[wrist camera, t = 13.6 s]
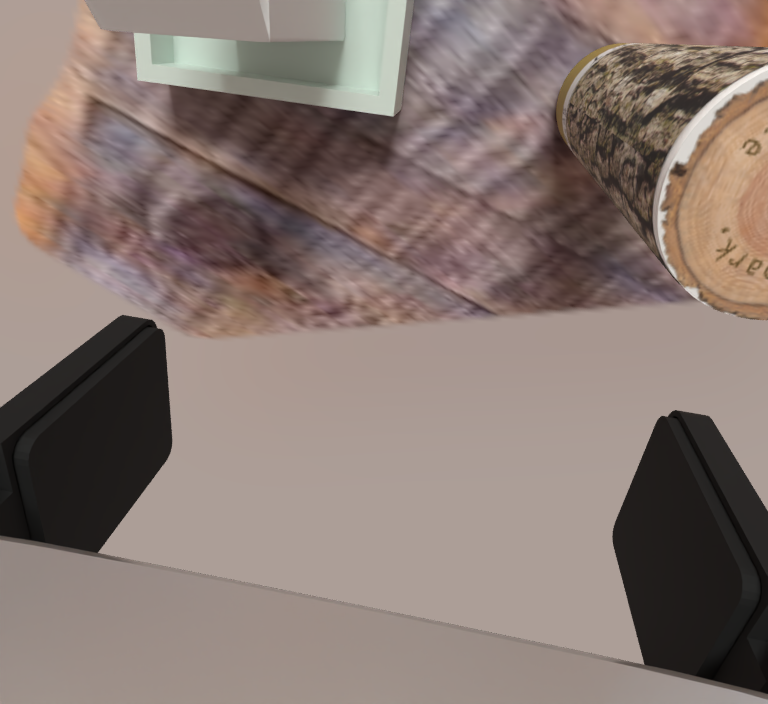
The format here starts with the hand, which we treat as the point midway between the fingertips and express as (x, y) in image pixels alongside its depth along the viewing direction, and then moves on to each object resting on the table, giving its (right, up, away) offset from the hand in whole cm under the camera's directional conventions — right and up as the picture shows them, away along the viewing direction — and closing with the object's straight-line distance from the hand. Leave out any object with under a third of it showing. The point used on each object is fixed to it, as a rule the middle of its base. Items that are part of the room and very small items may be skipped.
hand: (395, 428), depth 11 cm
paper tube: (+14, +17, +26) cm, 34 cm away
